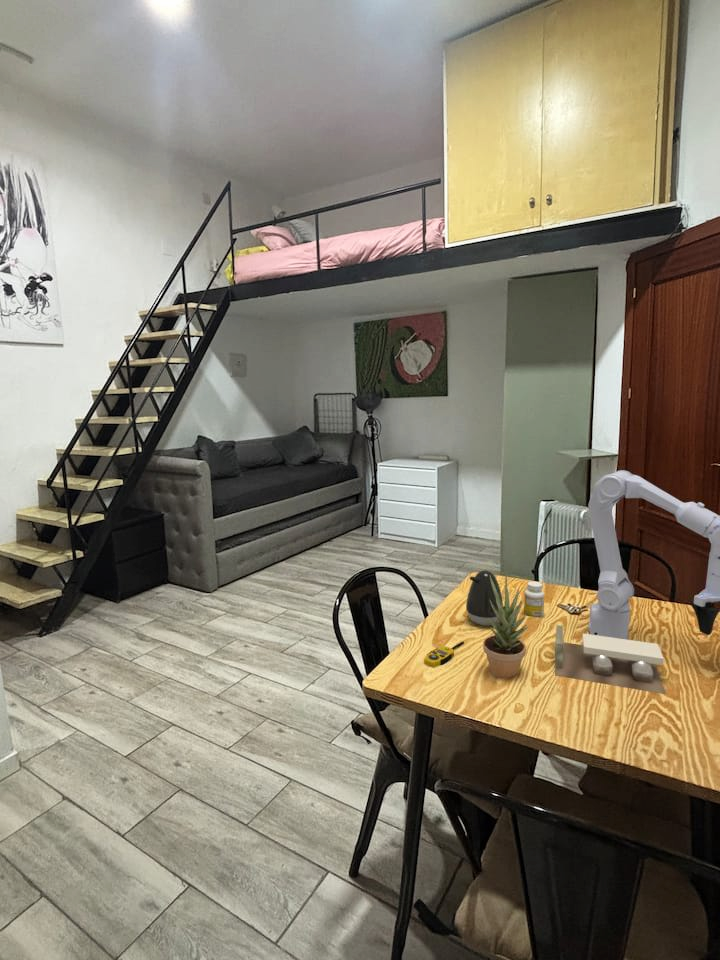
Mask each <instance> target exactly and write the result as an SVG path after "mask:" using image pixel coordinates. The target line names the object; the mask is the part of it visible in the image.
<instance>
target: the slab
mask: <svg viewBox="0 0 720 960" xmlns="http://www.w3.org/2000/svg"><path fill="white" fill-rule="evenodd" d="M581 639H582V645H583V651H584V653H587V654H594V655H600V656H607V657H614V658H620V659H627V660H633V661H640V662H646V663H653V664H656V665H660V666H664V659H665V658H664V655H663V653H662V650H661V648H660V645H659V644H658V643H652V642H646V641H639V640H632V639H627V640H626V639H619V638H612V637H605V636H598V635H590V633H582V638H581Z"/></svg>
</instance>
